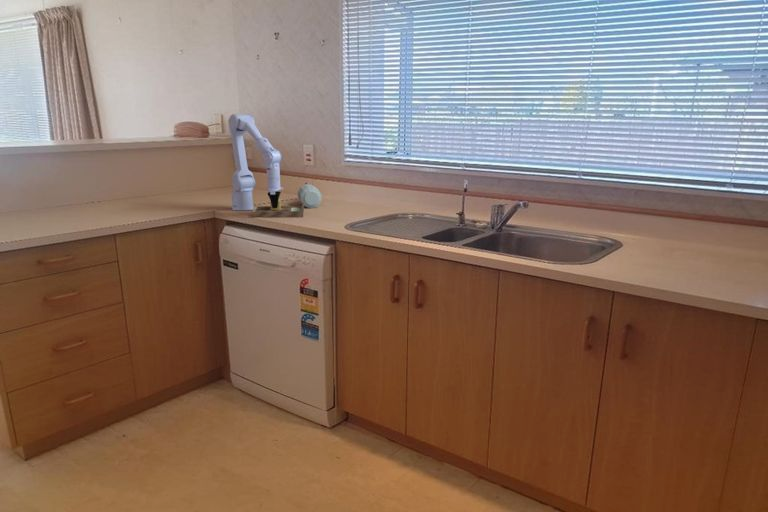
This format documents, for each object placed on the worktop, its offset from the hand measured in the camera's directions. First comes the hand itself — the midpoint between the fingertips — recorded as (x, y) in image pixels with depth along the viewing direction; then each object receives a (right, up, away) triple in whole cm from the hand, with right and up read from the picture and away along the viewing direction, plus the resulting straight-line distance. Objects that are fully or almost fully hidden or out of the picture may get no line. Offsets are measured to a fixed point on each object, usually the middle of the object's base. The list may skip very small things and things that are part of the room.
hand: (274, 207), depth 246 cm
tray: (+2, -3, +2) cm, 4 cm away
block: (0, 0, +3) cm, 3 cm away
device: (+10, +5, +31) cm, 33 cm away
